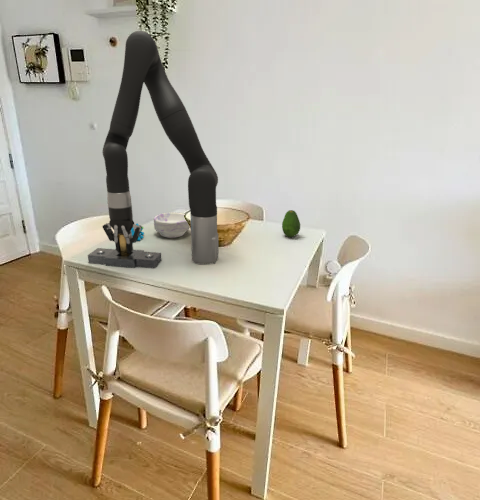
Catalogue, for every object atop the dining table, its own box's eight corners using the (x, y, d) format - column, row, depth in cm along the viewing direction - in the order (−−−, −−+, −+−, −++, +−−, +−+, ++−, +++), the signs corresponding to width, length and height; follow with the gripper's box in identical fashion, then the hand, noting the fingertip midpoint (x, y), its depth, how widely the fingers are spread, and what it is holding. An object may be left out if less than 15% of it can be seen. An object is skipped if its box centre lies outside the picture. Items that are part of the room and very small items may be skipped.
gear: (131, 241, 142) (118, 220, 143) (123, 249, 145) (111, 229, 146) (150, 237, 151) (138, 218, 153) (143, 244, 154) (131, 226, 156)
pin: (130, 254, 127) (128, 232, 124) (127, 257, 124) (125, 235, 122) (122, 253, 128) (120, 232, 125) (119, 256, 125) (116, 234, 122)
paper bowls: (187, 241, 148) (186, 222, 146) (150, 239, 149) (149, 221, 146) (192, 229, 163) (192, 212, 160) (159, 228, 163) (158, 211, 160)
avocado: (277, 235, 158) (279, 209, 153) (292, 233, 161) (294, 207, 157) (288, 241, 151) (290, 213, 147) (303, 238, 155) (305, 211, 150)
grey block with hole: (162, 259, 130) (161, 250, 128) (153, 269, 121) (152, 260, 120) (100, 254, 132) (98, 245, 131) (87, 264, 124) (85, 254, 123)
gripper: (144, 203, 122) (147, 250, 128) (105, 200, 124) (110, 247, 130) (135, 208, 115) (139, 258, 121) (94, 206, 117) (100, 254, 123)
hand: (124, 252), depth 126 cm, fingers closed on pin, 3 cm apart
